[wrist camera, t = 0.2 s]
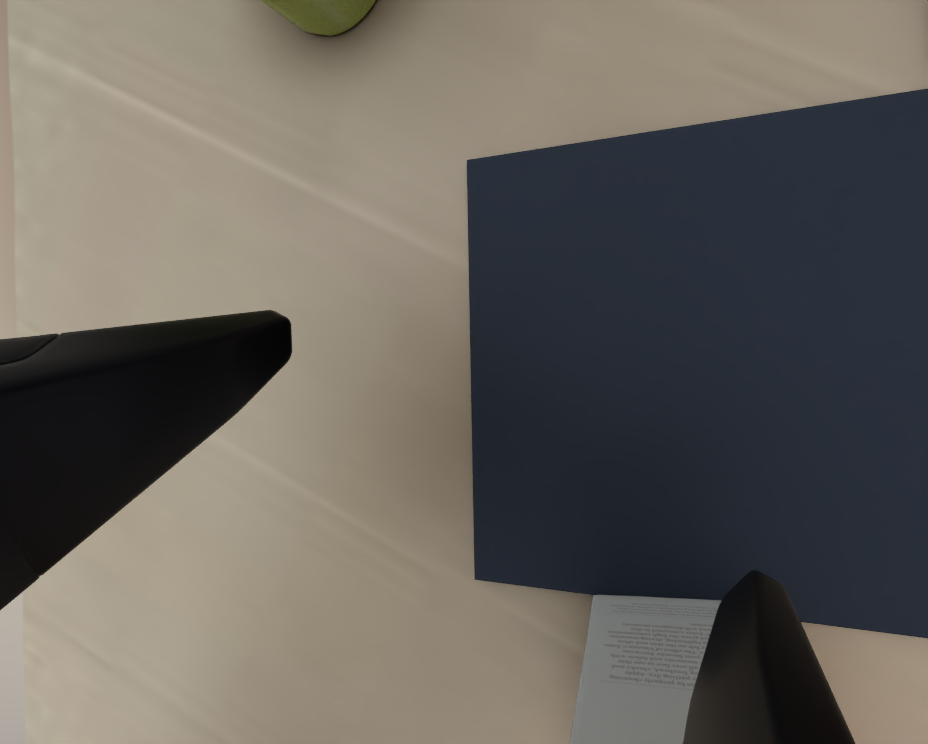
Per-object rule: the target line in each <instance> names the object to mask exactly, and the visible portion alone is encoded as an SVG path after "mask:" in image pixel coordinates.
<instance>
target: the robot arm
mask: <svg viewBox="0 0 928 744" xmlns="http://www.w3.org/2000/svg"><path fill="white" fill-rule="evenodd" d="M291 354H292V336H291V323H290V321H289V319H288V318H286V317H285V316H283V315H281V314H279V313H277V312H275V311H272V310H266V311H257V312H248V313H239V314H230V315H221V316H212V317H203V318H194V319H185V320H176V321H167V322H158V323H149V324H140V325H131V326H122V327H113V328H104V329H95V330H86V331H77V332H68V333H62V334H60V335H59V334H49V335H40V336H31V337H21V338H12V339H11V338H10V339H0V610H1V609H2V608H3V607H5V606H6V605H7V604H8V603H9V602H11V601H12V600H13V599H14V598H16V597H17V596H18V595H19V594H20V593H22V592H23V591H24V590H25V589H26V588H28V587H29V586H30V585H31V584H32V583H34V582H35V581H36V580H37V579H38V578H39V576H41V575H43V574H44V573H45V572H46V571H48V570H49V569H50V568H51V567H52V566H54V565H55V564H56V563H57V562H59V561H60V560H61V559H62V558H63V557H65V556H66V555H67V554H68V553H69V552H71V551H72V550H73V549H74V548H75V547H77V546H78V545H79V544H80V543H81V542H83V541H84V540H85V539H86V538H87V537H89V536H90V535H91V534H92V533H93V532H95V531H96V530H97V529H98V528H99V527H101V526H102V525H103V524H104V523H106V522H107V521H108V520H109V519H110V518H112V517H113V516H114V515H115V514H116V513H118V512H119V511H120V510H121V509H122V508H124V507H125V506H126V505H127V504H128V503H130V502H131V501H132V500H133V499H134V498H136V497H137V496H138V495H139V494H140V493H142V492H143V491H144V490H145V489H147V488H148V487H149V486H150V485H151V484H153V483H154V482H155V481H156V480H157V479H159V478H160V477H161V476H162V475H163V474H165V473H166V472H167V471H168V470H169V469H171V468H172V467H173V466H174V465H175V464H177V463H178V462H179V461H180V460H181V459H183V458H184V457H185V456H186V455H187V454H189V453H190V452H191V451H192V450H194V449H195V448H196V447H197V446H198V445H200V444H201V443H202V442H203V441H204V440H206V439H207V438H208V437H209V436H210V435H212V434H213V433H214V432H215V431H216V430H218V429H219V428H220V427H221V426H222V425H224V424H225V423H226V422H227V421H228V420H230V419H231V418H232V417H233V416H234V415H235V414H236V413H238V412H239V411H240V410H241V409H242V408H243V407H244V406H245V405H246V404H247V403H248V402H249V401H250V400H251V399H252V398H253V397H254V396H255V395H256V394H257V393H258V392H259V391H260V390H261V389H262V388H263V387H264V386H265V385H266V384H267V382H268V381H269V380H270V379H271V378H272V377H273V376H274V375H275V374H276V373H277V372H278V371H279V370H280V369H281V368H282V367H283V366H284V365H285V364H286V363H287V362H288V360H289V359H290V357H291ZM683 744H855V742H854V740H853V737H852V735H851V733H850V731H849V728H848V726H847V724H846V722H845V720H844V717H843V715H842V713H841V711H840V708H839V706H838V704H837V702H836V700H835V697H834V695H833V693H832V691H831V688H830V686H829V684H828V682H827V680H826V677H825V675H824V673H823V671H822V669H821V666H820V664H819V662H818V660H817V657H816V655H815V653H814V651H813V649H812V646H811V644H810V642H809V640H808V637H807V635H806V633H805V631H804V629H803V626H802V624H801V622H800V620H799V617H798V615H797V613H796V611H795V609H794V606H793V604H792V602H791V600H790V598H789V595H788V593H787V591H786V589H785V587H784V586H783V585H782V584H781V583H780V582H778V581H776V580H774V579H773V578H771V577H769V576H767V575H765V574H763V573H761V572H760V571H757V570H752V571H750V572H748V573H747V574H746V575H745V576H744V577H743V578H742V579H741V580H740V581H739V582H738V583H737V584H736V585H735V586H734V587H733V588H732V589H731V590H730V591H729V592H728V593H727V594H726V595H725V596H724V597H723V599H722V601H721V602H720V605H719V607H718V610H717V613H716V616H715V620H714V623H713V626H712V630H711V633H710V636H709V639H708V643H707V646H706V649H705V653H704V656H703V659H702V663H701V666H700V669H699V673H698V676H697V679H696V682H695V686H694V689H693V693H692V697H691V700H690V705H689V710H688V715H687V721H686V727H685V733H684V739H683Z"/></svg>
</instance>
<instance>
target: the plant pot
mask: <svg viewBox="0 0 928 744" xmlns="http://www.w3.org/2000/svg"><path fill="white" fill-rule="evenodd" d="M261 1H263V2H264V3H266V4H267V5H268V6H270V7H271V8H272V9H274V10H275V11H277V12H278V13H279V14H281V15H282V16H283V17H285V18H286V19H288V20H289V21H290V22H292V23H293V24H295V25H296V26H297V27H299V28H300V29H302V30H303V31H305V32H307V33H314V34H322V35H329V36H331V35H336V34H339V33H342V32H344V31H346V30H348V29H350V28H351V27H353V26H354V25H355V24H357V23H358V22H359V21H360V20H361V19H362V18H363V17H364V16H365V15H366V14H367V12H368V11H369V10H370V8H371V7H372V6H373V4H374V2H375V0H261Z"/></svg>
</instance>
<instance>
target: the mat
mask: <svg viewBox="0 0 928 744" xmlns="http://www.w3.org/2000/svg"><path fill="white" fill-rule="evenodd" d="M467 189H468V242H469V295H470V348H471V402H472V455H473V508H474V561H475V580H483V581H491V582H498V583H506V584H514V585H522V586H529V587H537V588H545V589H552V590H560V591H568V592H576V593H583V594H591V595H616V596H644V597H661V598H682V599H705V600H722V599H723V597H724V596H725V595H726V594H727V593H728V592H729V591H730V590H731V589H732V588H733V587H734V586H735V585H736V584H737V583H738V582H739V581H740V580H741V579H742V578H743V577H744V576H745V575H746V574H747V573H748V572H750V571H752V570H757V571H760V572H761V573H763V574H765V575H767V576H769V577H771V578H773V579H774V580H776V581H778V582H780V583H781V584H782V585H783V586H784V587H785V589H786V591H787V593H788V595H789V598H790V600H791V602H792V604H793V606H794V609H795V611H796V613H797V615H798V617H799V620H800V622H807V623H815V624H823V625H830V626H838V627H846V628H853V629H861V630H869V631H877V632H884V633H892V634H900V635H907V636H915V637H923V638H928V89H923V90H917V91H910V92H904V93H897V94H891V95H884V96H878V97H872V98H865V99H859V100H852V101H846V102H839V103H833V104H826V105H820V106H814V107H807V108H801V109H794V110H788V111H781V112H775V113H768V114H762V115H755V116H749V117H743V118H736V119H730V120H723V121H717V122H710V123H704V124H697V125H691V126H685V127H678V128H672V129H665V130H659V131H652V132H646V133H639V134H633V135H627V136H620V137H614V138H607V139H601V140H594V141H588V142H581V143H575V144H569V145H562V146H556V147H549V148H543V149H536V150H530V151H523V152H517V153H510V154H504V155H498V156H491V157H485V158H478V159H472V160H467Z"/></svg>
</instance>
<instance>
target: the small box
mask: <svg viewBox="0 0 928 744" xmlns="http://www.w3.org/2000/svg"><path fill="white" fill-rule="evenodd" d="M721 601H722V600H705V599H682V598H661V597H644V596H616V595H594V597H593V600H592V607H591V614H590V620H589V627H588V633H587V640H586V646H585V652H584V658H583V664H582V670H581V676H580V681H579V687H578V693H577V700H576V706H575V712H574V719H573V725H572V731H571V738H570V744H683V739H684V733H685V727H686V721H687V715H688V710H689V705H690V700H691V697H692V693H693V689H694V686H695V682H696V679H697V676H698V673H699V669H700V666H701V663H702V659H703V656H704V653H705V649H706V646H707V643H708V639H709V636H710V633H711V630H712V626H713V623H714V620H715V616H716V613H717V610H718V607H719V605H720V602H721Z"/></svg>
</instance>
